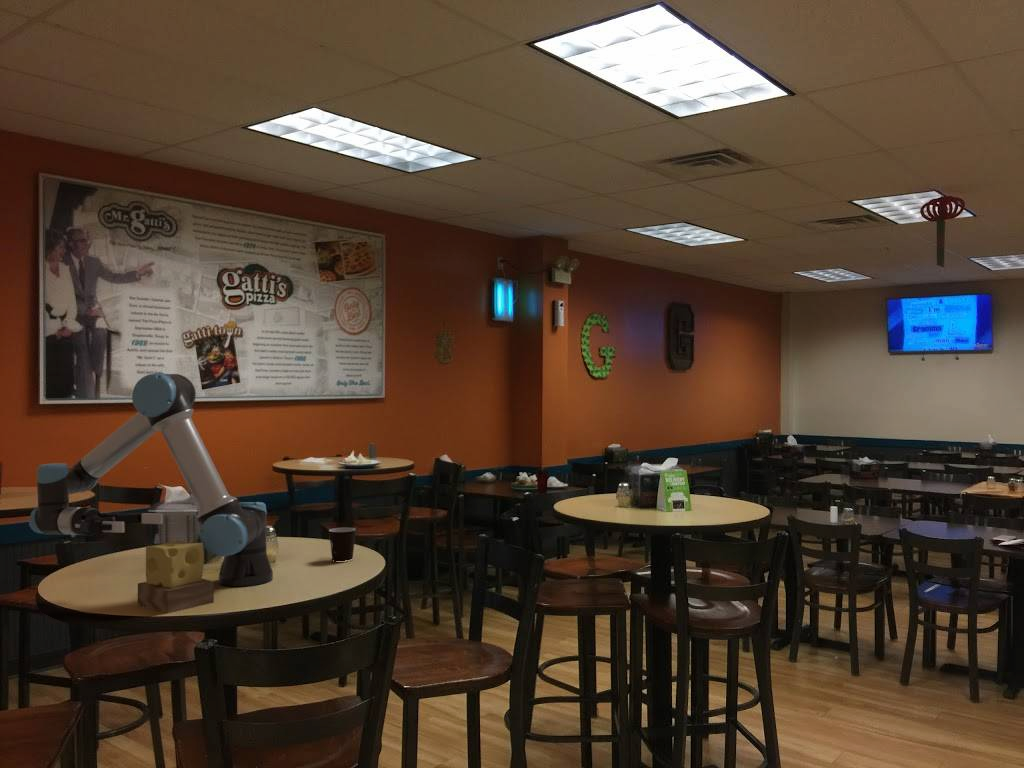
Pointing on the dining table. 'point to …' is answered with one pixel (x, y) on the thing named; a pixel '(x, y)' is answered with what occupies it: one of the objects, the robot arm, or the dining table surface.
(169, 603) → the walnut block
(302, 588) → the dining table surface
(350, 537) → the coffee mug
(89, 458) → the robot arm
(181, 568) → the cheese
